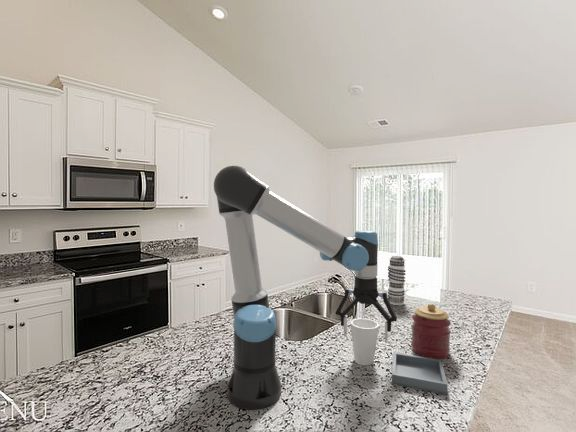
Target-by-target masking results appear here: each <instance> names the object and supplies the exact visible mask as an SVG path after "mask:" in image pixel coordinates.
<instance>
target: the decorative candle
mask: <svg viewBox="0 0 576 432" xmlns="http://www.w3.org/2000/svg"><path fill="white" fill-rule="evenodd" d="M405 261H406V259H405V258H404V257H403V256H398V255H392V256H391V257H390V258H389V263H388V264H389V265H388V266H387V268H388V269H387V271H388V273H387V274H388V275H387V277H388V279H387V280H388V283H389V284H388V289H387V291H388V292H387V298H388V300H389V302H390V304H391V305H392V306H393V305H395V306H402V305H404V304H405V292H406V291H405V287H404V286H405V284H404V283H406V280H405V279H406V277H405V276H406V273H405V272H406V270H405V267H406V265H405Z"/></svg>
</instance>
